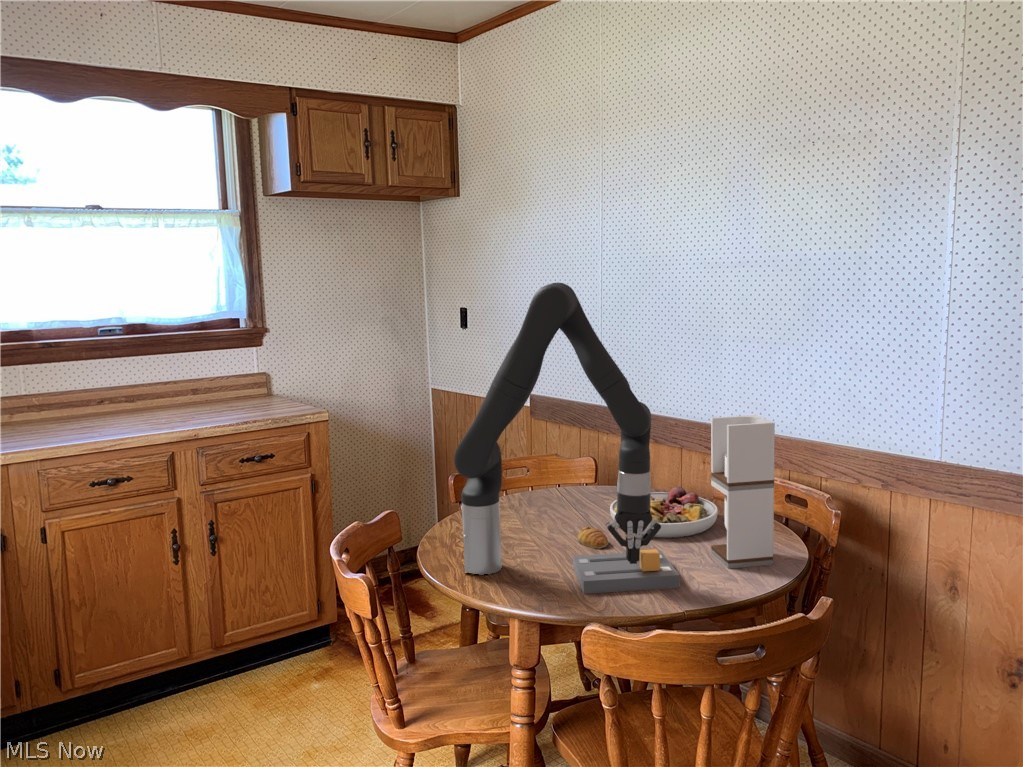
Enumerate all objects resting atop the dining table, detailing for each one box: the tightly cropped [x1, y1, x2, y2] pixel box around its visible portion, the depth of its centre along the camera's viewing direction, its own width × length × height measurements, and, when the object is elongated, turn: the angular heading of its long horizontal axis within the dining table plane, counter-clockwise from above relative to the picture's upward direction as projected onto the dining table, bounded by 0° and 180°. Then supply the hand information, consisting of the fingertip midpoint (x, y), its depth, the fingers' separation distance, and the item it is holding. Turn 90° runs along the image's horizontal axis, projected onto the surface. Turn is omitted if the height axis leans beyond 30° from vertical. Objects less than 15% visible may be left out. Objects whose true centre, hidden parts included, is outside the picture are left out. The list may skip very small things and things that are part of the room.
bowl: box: [609, 486, 719, 539], centre depth 225 cm, size 30×30×8 cm
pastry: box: [576, 526, 609, 550], centre depth 210 cm, size 9×7×4 cm
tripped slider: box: [640, 548, 660, 571], centre depth 182 cm, size 4×3×4 cm
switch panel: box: [572, 550, 681, 595], centre depth 187 cm, size 22×16×3 cm
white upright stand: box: [710, 414, 776, 569], centre depth 193 cm, size 11×11×35 cm
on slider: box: [639, 541, 652, 557], centre depth 190 cm, size 4×3×4 cm
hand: (632, 562), depth 182 cm, fingers closed
